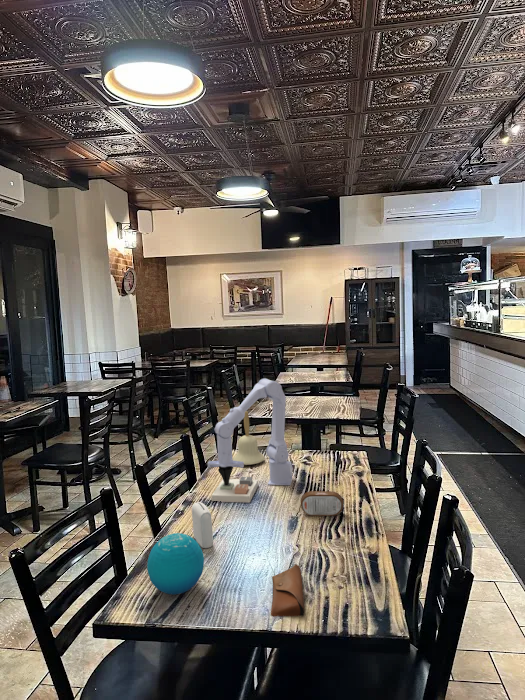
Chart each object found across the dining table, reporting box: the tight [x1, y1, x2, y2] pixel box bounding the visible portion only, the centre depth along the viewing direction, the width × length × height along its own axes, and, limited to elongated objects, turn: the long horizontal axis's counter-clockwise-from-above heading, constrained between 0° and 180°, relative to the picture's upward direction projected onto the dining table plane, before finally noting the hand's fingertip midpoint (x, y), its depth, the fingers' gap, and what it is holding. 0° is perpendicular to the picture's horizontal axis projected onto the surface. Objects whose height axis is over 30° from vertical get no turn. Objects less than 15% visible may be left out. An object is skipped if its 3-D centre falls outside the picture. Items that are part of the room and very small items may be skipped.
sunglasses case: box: [270, 564, 305, 617], centre depth 124 cm, size 18×7×7 cm
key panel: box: [211, 478, 259, 503], centre depth 192 cm, size 15×17×2 cm
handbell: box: [232, 410, 265, 466], centre depth 227 cm, size 15×15×25 cm
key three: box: [220, 483, 234, 490], centre depth 192 cm, size 4×4×3 cm
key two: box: [235, 484, 249, 494], centre depth 187 cm, size 4×4×3 cm
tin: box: [300, 490, 344, 517], centre depth 168 cm, size 15×3×8 cm, turn 84°
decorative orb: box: [146, 532, 205, 595], centre depth 127 cm, size 15×15×15 cm
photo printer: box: [191, 501, 214, 549], centre depth 153 cm, size 10×4×12 cm, turn 26°
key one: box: [239, 476, 253, 486], centre depth 195 cm, size 4×4×3 cm
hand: (226, 484), depth 192 cm, fingers closed, pressing on key three
